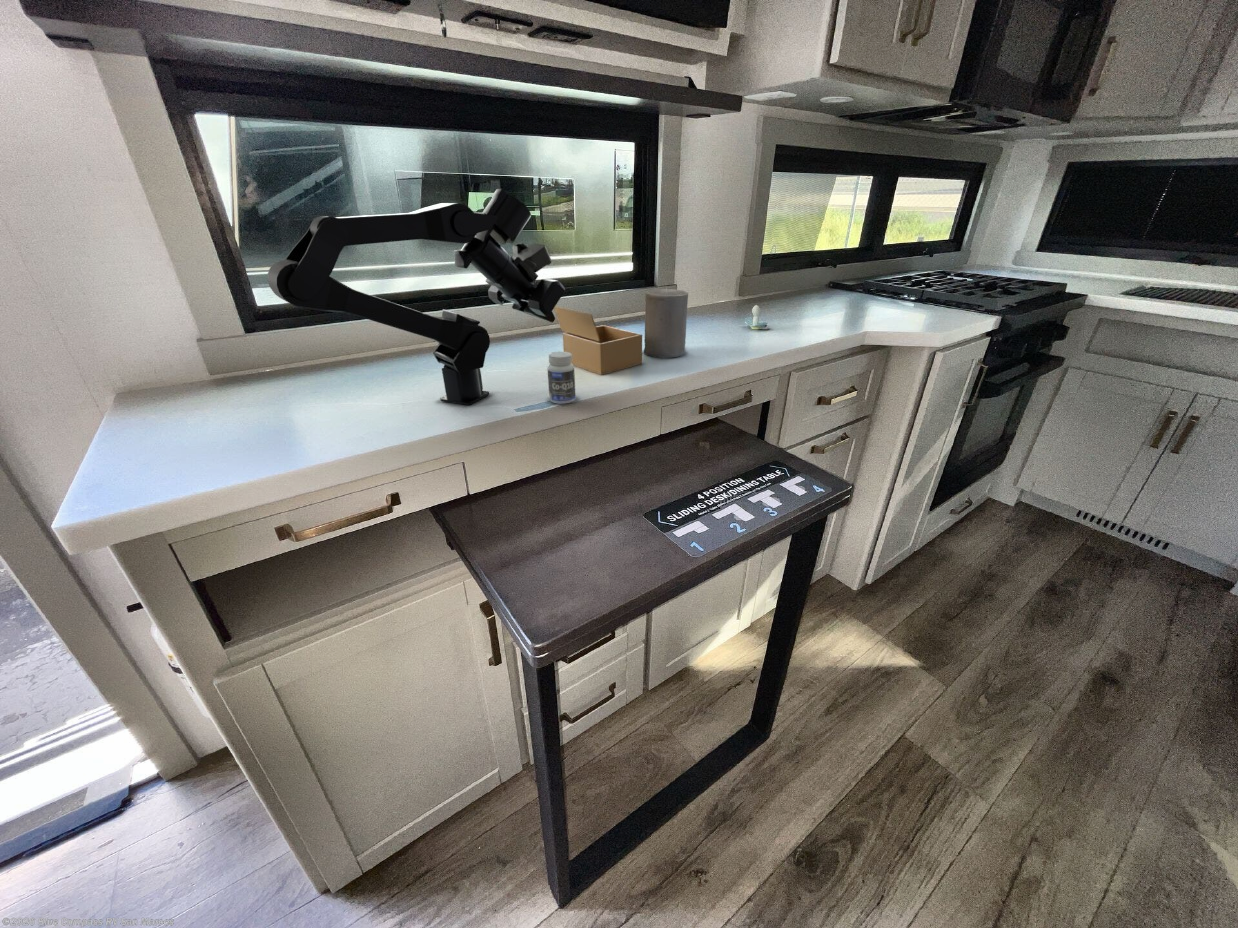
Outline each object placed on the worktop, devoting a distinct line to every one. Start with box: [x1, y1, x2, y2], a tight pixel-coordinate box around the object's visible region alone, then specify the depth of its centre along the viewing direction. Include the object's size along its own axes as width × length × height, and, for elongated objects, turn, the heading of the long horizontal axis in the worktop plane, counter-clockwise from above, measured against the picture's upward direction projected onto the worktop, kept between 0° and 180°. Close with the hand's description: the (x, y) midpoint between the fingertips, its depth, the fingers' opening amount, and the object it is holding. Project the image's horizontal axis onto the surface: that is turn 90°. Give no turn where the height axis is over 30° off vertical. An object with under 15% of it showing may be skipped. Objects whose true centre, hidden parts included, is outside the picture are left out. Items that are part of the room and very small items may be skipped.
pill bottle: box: [547, 351, 576, 405], centre depth 90 cm, size 5×5×8 cm
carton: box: [562, 324, 643, 376], centre depth 111 cm, size 12×13×6 cm
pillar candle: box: [643, 285, 689, 359], centre depth 116 cm, size 10×10×15 cm
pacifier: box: [744, 304, 771, 330], centre depth 140 cm, size 7×6×6 cm
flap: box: [553, 305, 600, 341], centre depth 104 cm, size 6×13×1 cm
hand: (553, 320), depth 100 cm, fingers closed
